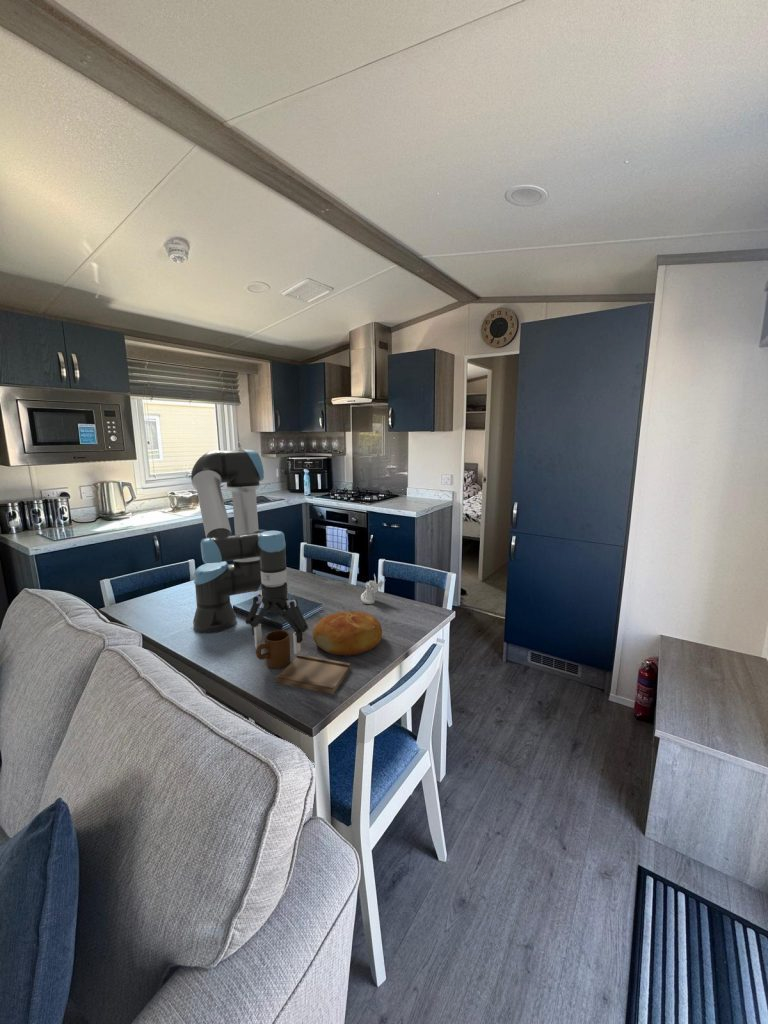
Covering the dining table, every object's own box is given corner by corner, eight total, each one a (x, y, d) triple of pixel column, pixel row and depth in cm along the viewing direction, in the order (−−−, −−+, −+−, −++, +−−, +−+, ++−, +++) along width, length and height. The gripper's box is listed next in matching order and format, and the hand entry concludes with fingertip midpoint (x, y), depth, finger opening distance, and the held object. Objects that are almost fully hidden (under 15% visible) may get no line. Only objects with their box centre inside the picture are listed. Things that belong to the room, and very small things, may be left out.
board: (276, 682, 125) (276, 676, 125) (298, 659, 137) (298, 653, 137) (332, 694, 120) (332, 687, 119) (350, 669, 132) (350, 663, 132)
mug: (266, 679, 127) (264, 650, 125) (249, 671, 131) (247, 642, 129) (295, 661, 136) (294, 634, 134) (279, 654, 141) (278, 627, 139)
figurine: (358, 603, 180) (357, 576, 178) (365, 596, 187) (365, 570, 185) (381, 607, 177) (382, 579, 174) (388, 600, 184) (388, 573, 181)
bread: (334, 622, 163) (334, 598, 161) (391, 634, 154) (392, 608, 152) (301, 651, 143) (300, 623, 141) (365, 667, 134) (364, 637, 132)
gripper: (230, 582, 128) (235, 648, 132) (305, 591, 120) (308, 660, 124) (246, 574, 135) (250, 637, 139) (317, 583, 127) (319, 648, 131)
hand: (277, 648), depth 132 cm, fingers open, 13 cm apart
